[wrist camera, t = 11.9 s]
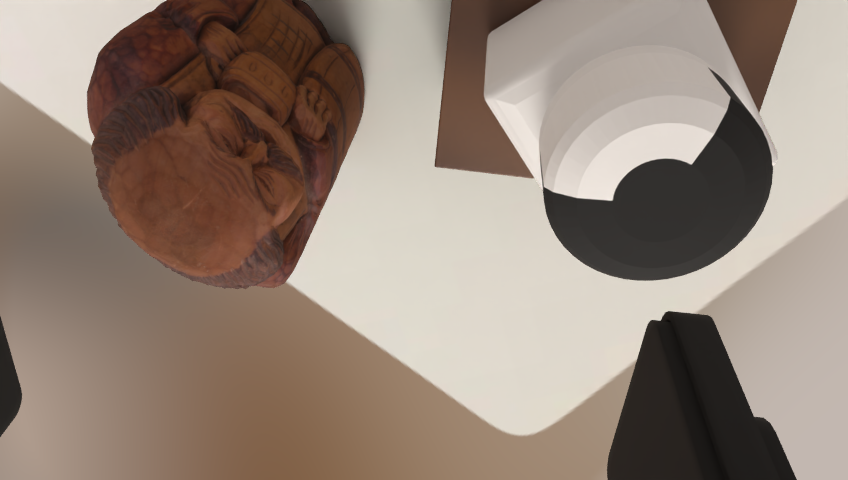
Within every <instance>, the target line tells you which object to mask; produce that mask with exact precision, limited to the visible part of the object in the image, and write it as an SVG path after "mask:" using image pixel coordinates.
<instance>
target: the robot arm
mask: <svg viewBox="0 0 848 480" xmlns="http://www.w3.org/2000/svg"><path fill="white" fill-rule="evenodd" d="M21 400H22V393H21V387H20V383H19V380H18V376H17V373H16V370H15V366H14V363H13V359H12V356H11V352H10V349H9V345H8V342H7V338H6V335H5V331H4V328H3V324H2V321H1V317H0V437H1V435H2V434H3V432H4V431H5V430H6V429H7V427H8V426H9V425H10V423H11V422H12V421H13V419H14V418H15V416H16V415H17V413H18V411H19V408H20V405H21ZM607 477H608V480H797V479H796V477H795V475H794V473H793V470H792V468H791V466H790V464H789V461H788V459H787V457H786V454H785V452H784V450H783V448H782V445H781V443H780V441H779V439H778V437H777V434H776V432H775V430H774V429H773V427H772V425H771V424H770V423H769V422H768V421H767V420H766V419H764V418H760V417H754V416H753V414H752V411H751V409H750V406H749V404H748V402H747V399H746V397H745V394H744V392H743V390H742V387H741V385H740V383H739V380H738V378H737V375H736V373H735V371H734V368H733V366H732V364H731V361H730V359H729V356H728V354H727V351H726V349H725V347H724V345H723V342H722V340H721V337H720V335H719V332H718V330H717V328H716V325H715V323H714V321H713V319H712V318H711V317H710V316H708V315H700V314H691V313H681V312H671V311H668V312H666V313H665V314H664V315H663V317H662V320H661V321H656V320H651V321H650V322H649V324H648V326H647V328H646V332H645V335H644V338H643V342H642V345H641V348H640V352H639V355H638V359H637V362H636V365H635V369H634V372H633V376H632V379H631V382H630V385H629V389H628V392H627V396H626V399H625V403H624V406H623V409H622V412H621V416H620V419H619V423H618V426H617V429H616V433H615V436H614V439H613V443H612V446H611V449H610V453H609V458H608V466H607Z"/></svg>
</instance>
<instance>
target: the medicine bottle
mask: <svg viewBox="0 0 848 480" xmlns="http://www.w3.org/2000/svg"><path fill="white" fill-rule="evenodd" d="M484 98H485V101H486V103H487V104H488V106H489V107H490V109H491V110H492V112H493V114H494V115H495V117H496V118H497V120H498V121H499V123H500V125H501V126H502V128H503V129H504V131H505V133H506V134H507V136H508V137H509V139H510V140H511V142H512V144H513V145H514V147H515V148H516V150H517V151H518V153H519V155H520V156H521V158H522V159H523V161H524V162H525V164H526V166H527V167H528V169H529V170H530V172H531V173H532V175H533V177H534V178H535V180H536V181H537V183H538V184H539V186H540V188H541V189H542V191H543V195H544V203H545V209H546V214H547V217H548V220H549V222H550V225H551V227H552V229H553V231H554V233H555V235H556V236H557V238H558V239H559V241H560V242H561V243H562V244H563V246H564V247H565V248H566V249H567V250H568V251H569V252H570V253H571V254H572V255H573V256H574V257H576V258H577V259H578V260H580V261H581V262H582V263H584V264H585V265H587V266H589V267H591V268H593V269H595V270H597V271H599V272H602V273H605V274H607V275H610V276H614V277H618V278H622V279H630V280H662V279H669V278H674V277H678V276H682V275H685V274H688V273H691V272H694V271H697V270H699V269H701V268H703V267H705V266H708V265H710V264H712V263H713V262H715V261H716V260H718V259H720V258H721V257H723V256H724V255H726V254H727V253H728V252H729V251H731V250H732V249H733V248H735V247H736V246H737V245H738V244H739V243H740V242H741V241H742V240H743V239H744V238H745V237H746V236H747V234H748V233H749V232H750V231H751V229H752V228H753V227H754V225H755V224H756V222H757V221H758V219H759V217H760V215H761V214H762V212H763V210H764V207H765V205H766V202H767V200H768V197H769V193H770V189H771V185H772V174H773V165H774V164H775V163H776V161H777V159H778V158H777V151H776V149H775V146H774V144H773V142H772V140H771V138H770V136H769V134H768V131H767V129H766V127H765V125H764V123H763V121H762V118H761V116H760V114H759V112H758V110H757V108H756V105H755V103H754V101H753V99H752V97H751V95H750V93H749V90H748V88H747V86H746V84H745V82H744V80H743V77H742V75H741V73H740V71H739V69H738V67H737V65H736V62H735V60H734V58H733V56H732V54H731V52H730V49H729V47H728V45H727V43H726V41H725V39H724V36H723V34H722V32H721V30H720V28H719V26H718V24H717V21H716V19H715V17H714V15H713V13H712V11H711V8H710V6H709V4H708V2H707V0H542V1H540V2H539V3H537V4H535V5H534V6H532V7H531V8H529V9H527V10H526V11H524V12H522V13H521V14H519V15H518V16H516V17H514V18H513V19H511V20H510V21H508V22H506V23H505V24H503V25H501V26H500V27H498V28H497V29H495V30H493V31H492V32H491V33H490V34H489V35H488V39H487V51H486V68H485V84H484Z"/></svg>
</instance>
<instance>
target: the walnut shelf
mask: <svg viewBox="0 0 848 480" xmlns="http://www.w3.org/2000/svg"><path fill="white" fill-rule="evenodd" d="M540 1H542V0H452V2H451V12H450V22H449V32H448V41H447V51H446V61H445V70H444V80H443V90H442V100H441V109H440V119H439V129H438V138H437V148H436V158H435V167H440V168H448V169H457V170H465V171H474V172H482V173H491V174H499V175H508V176H516V177H525V178H533V179H535V178H534V177H533V175H532V173H531V172H530V170H529V169H528V167H527V166H526V164H525V162H524V161H523V159H522V158H521V156H520V155H519V153H518V151H517V150H516V148H515V147H514V145H513V144H512V142H511V140H510V139H509V137H508V136H507V134H506V133H505V131H504V129H503V128H502V126H501V125H500V123H499V121H498V120H497V118H496V117H495V115H494V114H493V112H492V110H491V109H490V107H489V106H488V104H487V103H486V101H485V98H484V84H485V68H486V51H487V39H488V35H489V34H490V33H491V32H492V31H493V30H495V29H497V28H498V27H500V26H501V25H503V24H505V23H506V22H508V21H510V20H511V19H513V18H514V17H516V16H518V15H519V14H521V13H522V12H524V11H526V10H527V9H529V8H531V7H532V6H534V5H535V4H537V3H539V2H540ZM707 2H708V4H709V6H710V8H711V11H712V13H713V15H714V17H715V19H716V21H717V24H718V26H719V28H720V30H721V32H722V34H723V36H724V39H725V41H726V43H727V45H728V47H729V49H730V52H731V54H732V56H733V58H734V60H735V62H736V65H737V67H738V69H739V71H740V73H741V75H742V77H743V80H744V82H745V84H746V86H747V88H748V90H749V93H750V95H751V97H752V99H753V101H754V103H755V105H756V108H757V110H758V112H760V109H761V106H762V103H763V100H764V97H765V94H766V91H767V88H768V85H769V82H770V79H771V77H772V74H773V71H774V68H775V65H776V62H777V59H778V56H779V53H780V50H781V47H782V44H783V41H784V38H785V35H786V32H787V29H788V26H789V24H790V21H791V18H792V15H793V12H794V9H795V6H796V3H797V0H707Z"/></svg>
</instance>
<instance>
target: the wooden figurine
mask: <svg viewBox="0 0 848 480" xmlns="http://www.w3.org/2000/svg"><path fill="white" fill-rule="evenodd" d="M363 107H364V81H363V75H362V71H361V68H360V65H359V63H358V60H357V58H356V56H355V55H354V53H353V51H352V50H351V49H350V47H349V46H348V45H346V44H343V43H334V42H333V41H332V40H331V39H330V37H329V35H328V33H327V31H326V29H325V28H324V26H323V24H322V23H321V22H320V20H319V19H318V18H317V16H316V15H315V13H314V12H313V10H312V9H311V8H310V7H309V6H308V5H307V4H306V3H304V2H303V1H301V0H167V1H165V2H163V3H161V4H160V5H159V6H158V7H157V8H156V9H155V10H154V11H152V12H149V13H147V14H145V15H144V16H142V17H141V18H139V19H138V20H136V21H135V22H133V23H132V24H130V25H129V26H127V27H126V28H124V29H122V30H121V31H120V32H119V33H118V34H116V35H115V36H114V37H113V38H112V39H111V40H110V41H109V42H108V43H107V44H106V45H105V46H104V47H103V48H102V50H101V51H100V52H99V54H98V57H97V60H96V64H95V68H94V71H93V74H92V77H91V80H90V84H89V87H88V91H87V109H88V118H89V123H90V127H91V131H92V133H93V135H94V137H95V138H94V141H93V143H92V148H91V150H92V153H93V155H94V164H95V166H96V168H97V171H96V176H97V178H98V187H99V188H100V191H101V193H102V197H103V199H104V200H105V201H106V202H107V203H108V206H109V210H110V212H111V213H112V215H113V216H114V218H116V219H117V221H118V225H119V227H120V228H122V229H123V230H124V232H125V233H126V234H127V236H129V238H131V239H132V240H133V241H134V242H135V243H136V244H137V245H138V246H139V247H140V248H142V249H143V250H144V251H145V252H146V253H148V254H149V255H150V256H152V257H153V258H155V259H157V260H158V261H159V262H161V263H162V264H163V265H164V266H165V267H167V268H170V269H171V270H172V271H174V272H177V273H178V274H181V275H182V276H184V277H186V278H189V279H190V280H192V281H198V282H201V283H204V284H207V285H212V286H216V287H222V288H235V289H239V288H244V289H246V288H248V287H249V286H261V287H267V288H275V287H277V286H280V285H282V284H283V283H285V282H286V280H287V279H288V278H289V276H290V275H291V274H292V272H293V270H294V269H295V267H296V265H297V263H298V261H299V258H300V257H301V255H302V253H303V250H304V248H305V246H306V243H307V241H308V239H309V237H310V234H311V232H312V230H313V228H314V226H315V224H316V221H317V219H318V217H319V215H320V212H321V210H322V208H323V206H324V204H325V202H326V200H327V197H328V195H329V193H330V191H331V189H332V187H333V184H334V182H335V180H336V178H337V175H338V173H339V170H340V167H341V165H342V163H343V161H344V159H345V156H346V154H347V151H348V149H349V147H350V144H351V142H352V140H353V138H354V135H355V133H356V131H357V128H358V126H359V123H360V120H361V117H362V113H363Z"/></svg>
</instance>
